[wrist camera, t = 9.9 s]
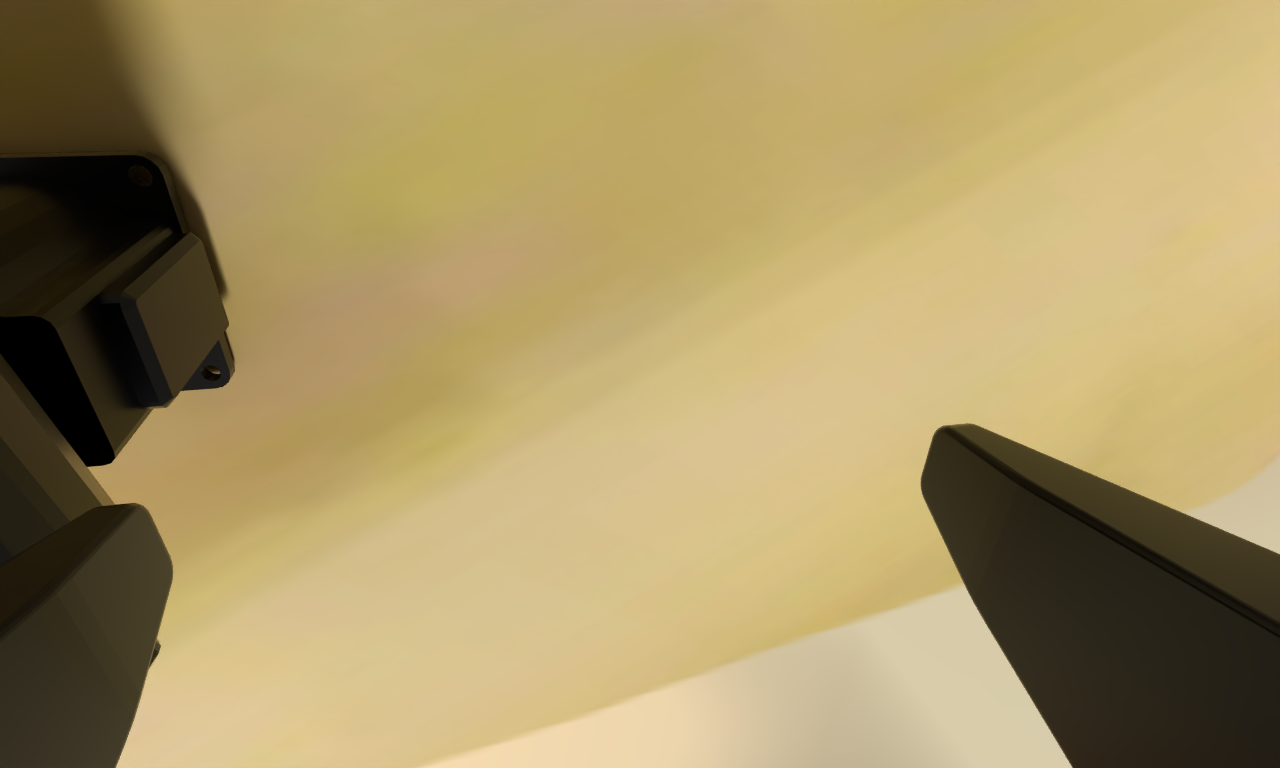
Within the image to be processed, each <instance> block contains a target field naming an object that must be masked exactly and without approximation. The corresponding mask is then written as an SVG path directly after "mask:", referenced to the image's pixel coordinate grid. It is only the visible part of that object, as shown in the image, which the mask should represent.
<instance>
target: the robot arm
mask: <svg viewBox="0 0 1280 768" xmlns="http://www.w3.org/2000/svg"><path fill="white" fill-rule="evenodd" d="M136 165H138V166H143V167H145V168H146V169H148V170H149V171H150V173H151V175H152V179H153V181H152V183H151V182H146V181H144V180H142V179H141V178H139V176H138V175H137V173H136ZM228 326H229V322H228V319H227V316H226V312H225V309H224V306H223V303H222V300H221V297H220V294H219V291H218V288H217V285H216V282H215V279H214V276H213V273H212V270H211V267H210V263H209V260H208V257H207V254H206V251H205V248H204V245H203V242H202V241H201V240H200V239H199V238H198V237H196V236H195V235H194V234H193V233H190V230H189V227H188V224H187V221H186V218H185V215H184V212H183V209H182V206H181V204H180V201H179V198H178V195H177V192H176V189H175V186H174V183H173V180H172V177H171V174H170V171H169V169H168V167H167V165H166V164H165V163H164V162H163V161H162V160H161V159H160V158H159V157H158V156H156V155H154V154H152V153H150V152H144V151H116V152H70V153H24V154H0V768H116V766H117V763H118V760H119V758H120V755H121V753H122V750H123V748H124V745H125V743H126V740H127V737H128V734H129V732H130V729H131V726H132V724H133V721H134V718H135V715H136V711H137V708H138V705H139V702H140V698H141V695H142V691H143V688H144V684H145V680H146V677H147V673H148V670H149V668H150V667H151V665H152V664H153V662H154V660H155V659H156V657H157V655H158V653H159V650H160V647H161V645H160V643H159V641H158V640H157V636H158V632H159V628H160V625H161V621H162V617H163V614H164V610H165V606H166V603H167V599H168V595H169V592H170V588H171V584H172V579H173V565H172V561H171V558H170V555H169V553H168V551H167V549H166V547H165V544H164V542H163V540H162V538H161V536H160V534H159V532H158V529H157V527H156V525H155V523H154V521H153V519H152V517H151V515H150V513H149V511H148V510H147V509H146V508H145V507H144V506H142V505H140V504H137V503H129V504H118V505H115V504H114V502H113V501H112V500H111V498H110V497H109V496H108V494H107V493H106V492H105V491H104V489H103V488H102V487H101V485H100V484H99V483H98V481H97V480H96V479H95V477H94V476H93V475H92V473H91V472H90V471H89V469H88V468H87V467H91V466H102V465H107V464H110V463H112V462H113V460H114V459H115V458H116V457H117V455H118V454H119V453H120V451H121V450H122V449H123V447H124V446H125V445H126V444H127V442H128V441H129V440H130V438H131V437H132V436H133V434H134V433H135V432H136V431H137V429H138V428H139V427H140V425H141V424H142V423H143V421H144V420H145V419H146V418H147V416H148V415H149V414H150V412H151V411H152V410H153V409H154V408H166V407H168V406H169V405H170V404H171V403H172V402H173V400H174V399H175V398H176V397H177V395H178V394H179V392H180V391H185V390H199V389H213V388H219V387H223V386H224V385H226V384H227V383H228V382H229V381H230V379H231V377H232V376H233V374H234V372H235V366H234V362H233V359H232V356H231V353H230V350H229V347H228V344H227V341H226V338H225V335H224V331H225V330H226V329H227V327H228ZM207 365H210V366H214V367H216V368H218V369H219V371H220V372H221V373H220V374H214V373H212V372H210V371H208V369H207V368H206V366H207ZM921 490H922V494H923V497H924V500H925V502H926V504H927V506H928V508H929V510H930V512H931V515H932V517H933V519H934V521H935V523H936V525H937V527H938V529H939V531H940V534H941V536H942V538H943V540H944V542H945V544H946V546H947V548H948V551H949V553H950V555H951V557H952V559H953V561H954V563H955V565H956V568H957V570H958V572H959V574H960V576H961V578H962V580H963V582H964V585H965V586H966V588H967V590H968V592H969V594H970V596H971V598H972V600H973V602H974V604H975V606H976V607H977V609H978V611H979V613H980V614H981V616H982V618H983V620H984V621H985V623H986V624H987V626H988V628H989V629H990V631H991V633H992V635H993V636H994V638H995V640H996V641H997V643H998V645H999V646H1000V648H1001V650H1002V651H1003V653H1004V655H1005V656H1006V658H1007V660H1008V661H1009V663H1010V664H1011V666H1012V668H1013V669H1014V671H1015V673H1016V675H1017V676H1018V678H1019V680H1020V681H1021V683H1022V684H1023V686H1024V688H1025V689H1026V691H1027V693H1028V694H1029V696H1030V698H1031V699H1032V701H1033V703H1034V704H1035V706H1036V708H1037V709H1038V711H1039V712H1040V714H1041V716H1042V718H1043V719H1044V721H1045V723H1046V724H1047V726H1048V728H1049V729H1050V731H1051V733H1052V734H1053V736H1054V737H1055V739H1056V741H1057V743H1058V744H1059V746H1060V748H1061V749H1062V751H1063V753H1064V754H1065V756H1066V758H1067V759H1068V761H1069V763H1070V764H1071V766H1072V768H1280V554H1278V553H1275V552H1273V551H1271V550H1268V549H1266V548H1264V547H1261V546H1259V545H1256V544H1254V543H1252V542H1250V541H1247V540H1245V539H1243V538H1240V537H1238V536H1236V535H1233V534H1231V533H1229V532H1226V531H1224V530H1222V529H1219V528H1217V527H1215V526H1212V525H1210V524H1207V523H1205V522H1203V521H1200V520H1198V519H1196V518H1193V517H1191V516H1189V515H1186V514H1184V513H1182V512H1179V511H1177V510H1175V509H1172V508H1170V507H1168V506H1165V505H1163V504H1160V503H1158V502H1156V501H1153V500H1151V499H1149V498H1146V497H1144V496H1142V495H1139V494H1137V493H1135V492H1132V491H1130V490H1128V489H1125V488H1123V487H1121V486H1118V485H1116V484H1114V483H1111V482H1109V481H1106V480H1104V479H1102V478H1099V477H1097V476H1095V475H1092V474H1090V473H1088V472H1085V471H1083V470H1081V469H1078V468H1076V467H1074V466H1071V465H1069V464H1067V463H1064V462H1062V461H1059V460H1057V459H1055V458H1052V457H1050V456H1048V455H1045V454H1043V453H1041V452H1038V451H1036V450H1034V449H1031V448H1029V447H1027V446H1024V445H1022V444H1020V443H1017V442H1015V441H1013V440H1010V439H1008V438H1005V437H1003V436H1001V435H998V434H996V433H994V432H991V431H989V430H987V429H984V428H982V427H980V426H977V425H974V424H968V423H967V424H956V425H945V426H942V427H940V428H938V429H937V431H936V432H935V433H934V435H933V438H932V442H931V445H930V448H929V452H928V455H927V459H926V462H925V465H924V469H923V472H922V476H921Z"/></svg>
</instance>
